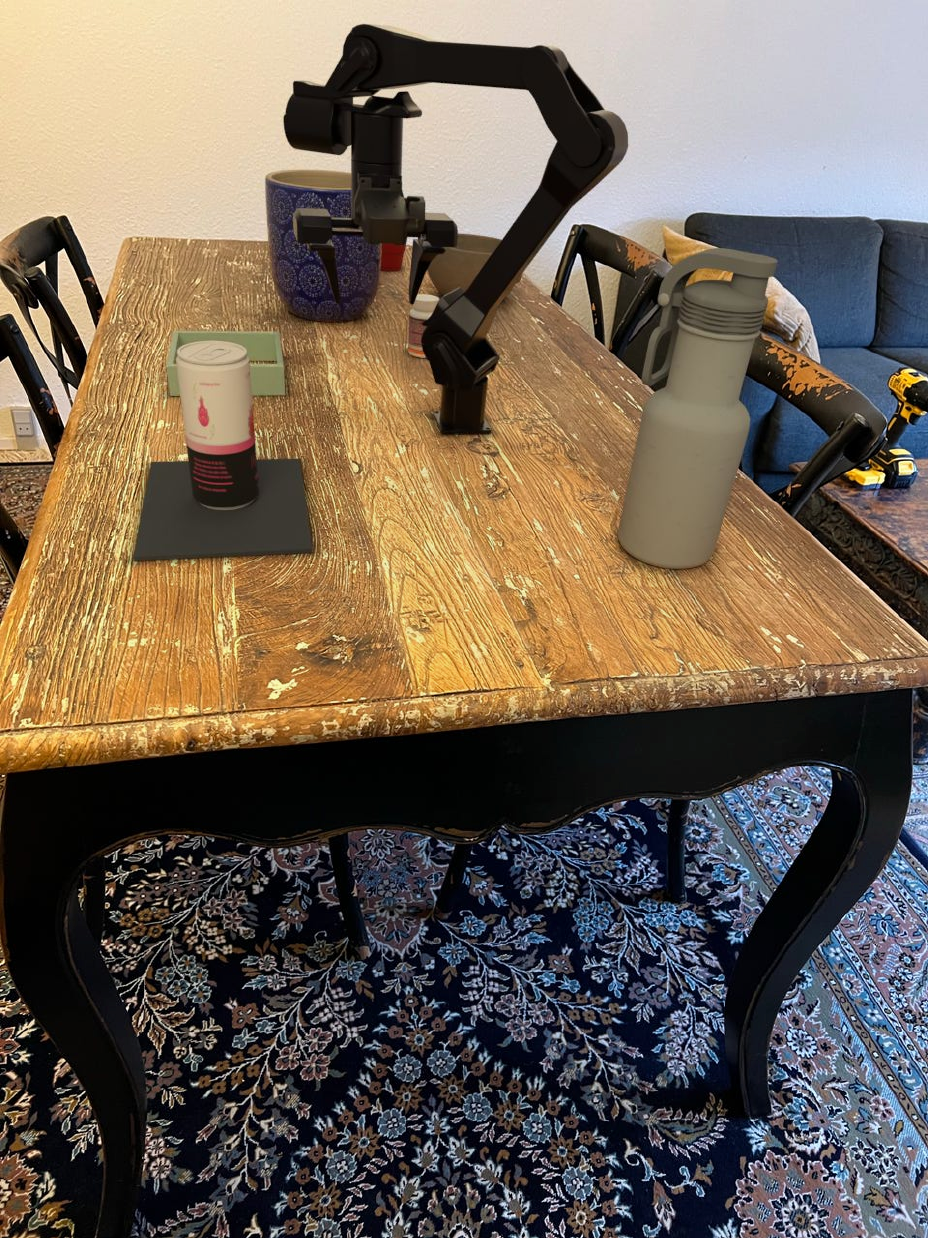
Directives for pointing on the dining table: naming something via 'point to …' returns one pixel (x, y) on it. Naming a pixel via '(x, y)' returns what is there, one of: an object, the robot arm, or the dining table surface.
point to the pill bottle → (419, 322)
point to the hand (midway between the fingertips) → (374, 303)
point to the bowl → (462, 263)
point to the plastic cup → (392, 257)
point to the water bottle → (694, 410)
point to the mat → (223, 516)
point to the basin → (258, 349)
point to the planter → (303, 269)
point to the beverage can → (218, 423)
